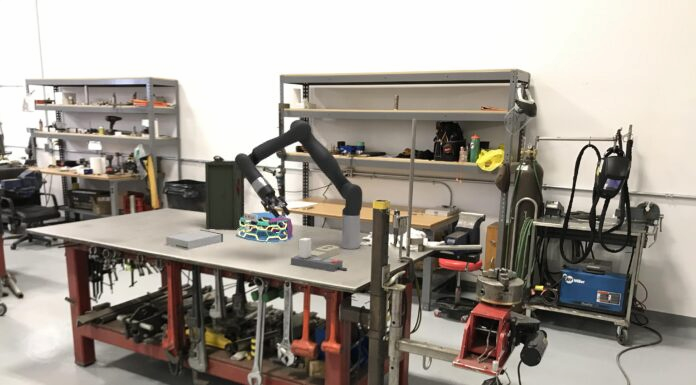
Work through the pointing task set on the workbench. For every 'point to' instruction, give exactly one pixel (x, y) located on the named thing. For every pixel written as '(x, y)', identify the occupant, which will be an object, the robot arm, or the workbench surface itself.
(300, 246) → the block
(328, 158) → the robot arm
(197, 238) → the disc drive
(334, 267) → the power strip
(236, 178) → the green ammo box
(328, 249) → the electrical outlet
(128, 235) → the workbench surface
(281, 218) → the stadium
